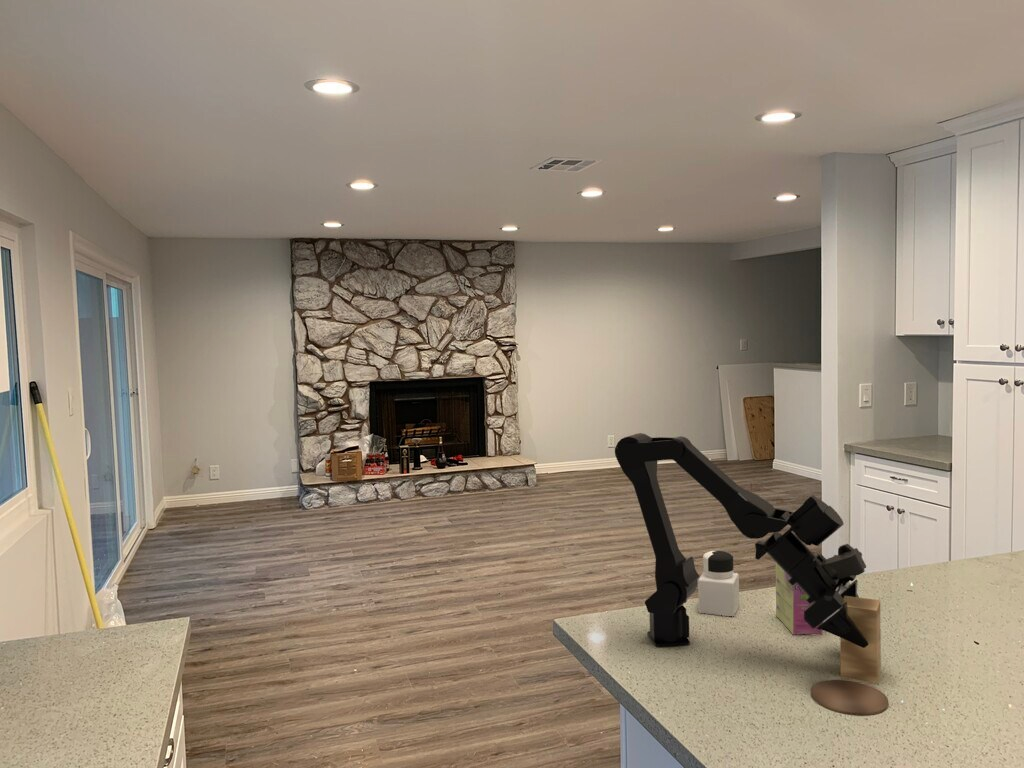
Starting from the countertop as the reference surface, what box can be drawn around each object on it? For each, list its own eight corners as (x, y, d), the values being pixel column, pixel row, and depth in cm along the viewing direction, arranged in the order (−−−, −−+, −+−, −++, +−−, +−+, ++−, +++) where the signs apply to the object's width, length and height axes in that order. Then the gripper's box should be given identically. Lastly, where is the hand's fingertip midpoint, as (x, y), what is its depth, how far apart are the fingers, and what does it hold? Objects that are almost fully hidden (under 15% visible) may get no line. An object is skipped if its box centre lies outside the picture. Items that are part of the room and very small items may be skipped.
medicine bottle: (739, 606, 162) (738, 550, 161) (734, 617, 155) (732, 559, 155) (705, 602, 165) (704, 547, 164) (698, 613, 158) (697, 556, 158)
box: (823, 634, 145) (823, 573, 144) (793, 635, 145) (792, 574, 144) (804, 615, 155) (803, 557, 155) (775, 616, 155) (774, 558, 155)
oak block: (840, 677, 127) (839, 605, 126) (845, 664, 132) (844, 595, 131) (877, 683, 124) (876, 610, 123) (880, 670, 129) (880, 600, 128)
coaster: (832, 717, 113) (832, 714, 113) (798, 685, 124) (798, 682, 124) (903, 712, 114) (903, 709, 114) (863, 680, 125) (863, 677, 125)
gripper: (824, 546, 121) (903, 626, 116) (842, 521, 137) (912, 590, 132) (773, 588, 125) (847, 668, 120) (796, 559, 141) (862, 628, 136)
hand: (869, 636), depth 127 cm, fingers open, 9 cm apart
